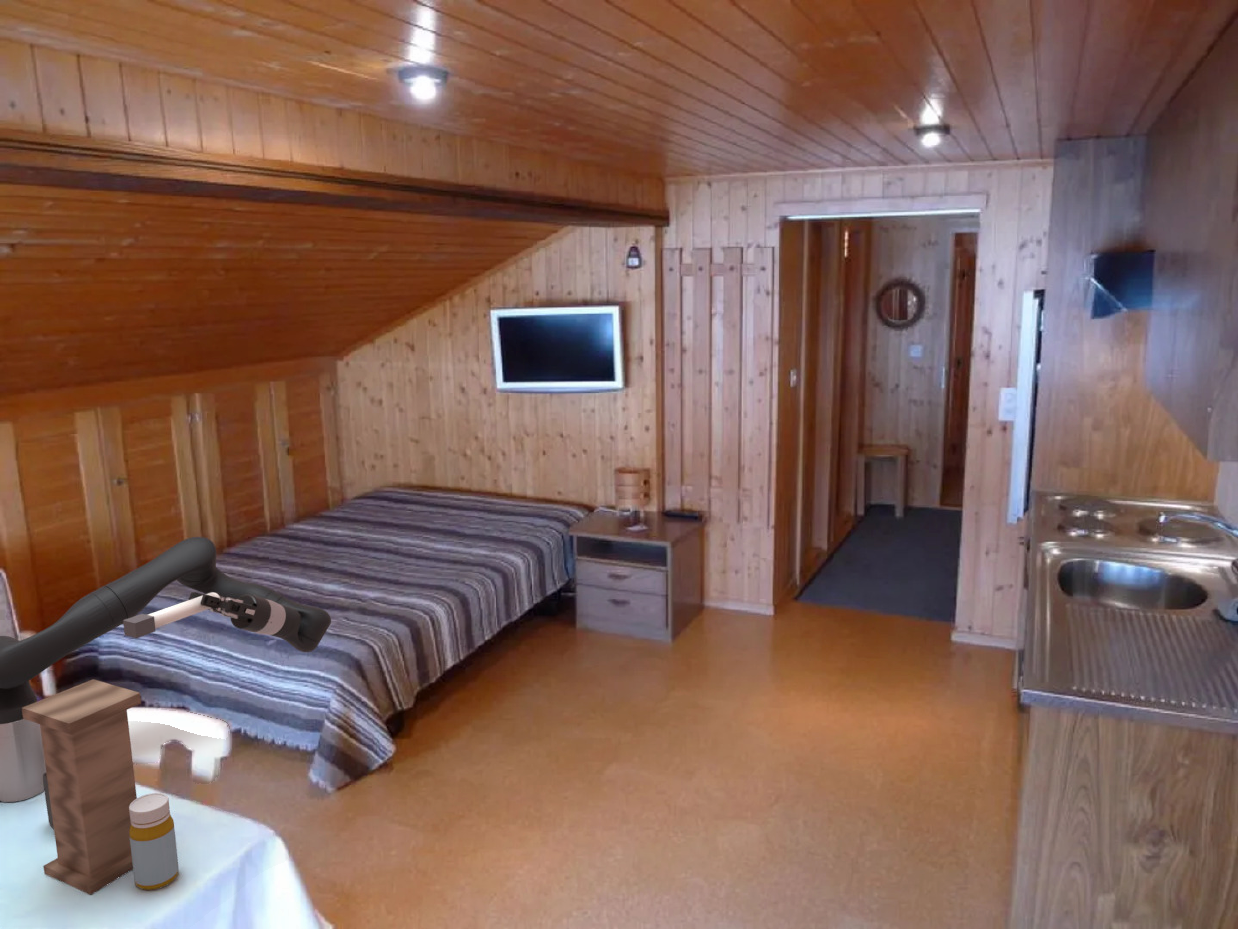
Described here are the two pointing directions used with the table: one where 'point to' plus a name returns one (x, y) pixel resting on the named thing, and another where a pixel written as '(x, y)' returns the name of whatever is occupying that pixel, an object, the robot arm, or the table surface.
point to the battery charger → (47, 799)
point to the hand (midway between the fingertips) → (197, 598)
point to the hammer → (163, 617)
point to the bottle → (153, 842)
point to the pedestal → (88, 781)
